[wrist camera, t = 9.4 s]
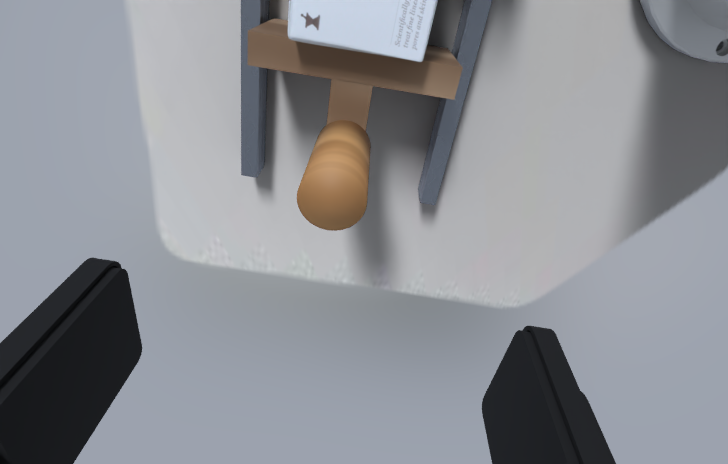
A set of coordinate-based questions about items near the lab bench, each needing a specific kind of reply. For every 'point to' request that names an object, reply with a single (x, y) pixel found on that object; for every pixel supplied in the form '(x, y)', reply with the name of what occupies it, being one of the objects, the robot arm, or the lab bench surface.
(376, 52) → the skincare box
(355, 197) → the sliding jaw
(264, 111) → the clamp frame
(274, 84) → the lab bench surface
